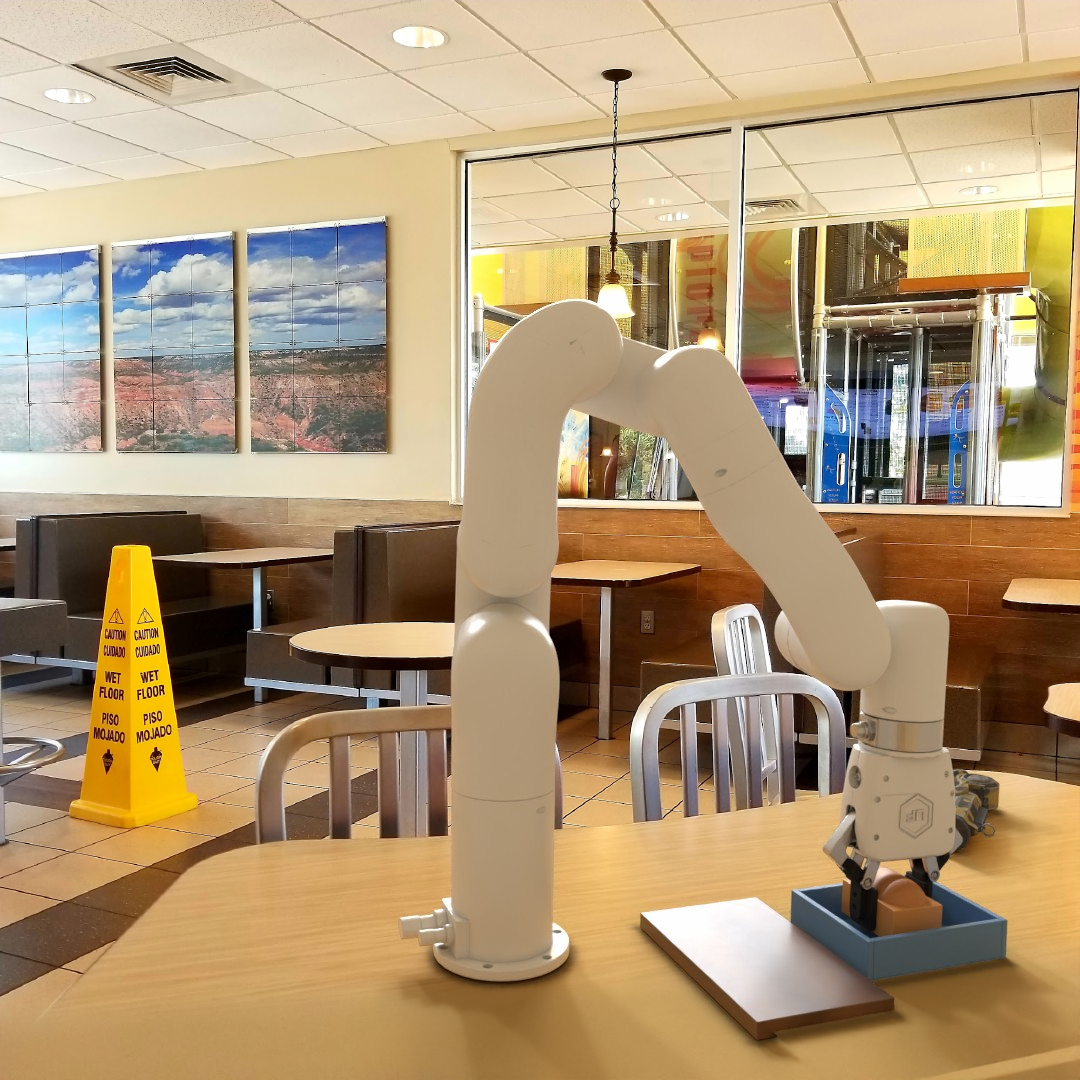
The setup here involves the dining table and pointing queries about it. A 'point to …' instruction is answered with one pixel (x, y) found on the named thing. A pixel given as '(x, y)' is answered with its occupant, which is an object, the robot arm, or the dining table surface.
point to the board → (763, 966)
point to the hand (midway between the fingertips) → (889, 919)
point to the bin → (955, 943)
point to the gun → (973, 803)
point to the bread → (898, 904)
